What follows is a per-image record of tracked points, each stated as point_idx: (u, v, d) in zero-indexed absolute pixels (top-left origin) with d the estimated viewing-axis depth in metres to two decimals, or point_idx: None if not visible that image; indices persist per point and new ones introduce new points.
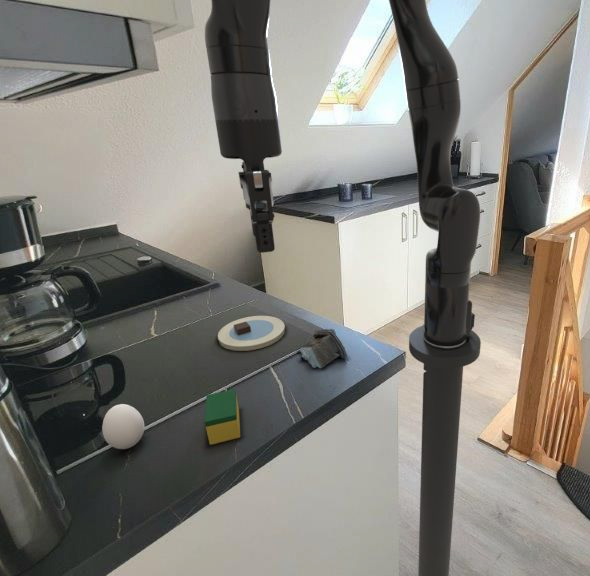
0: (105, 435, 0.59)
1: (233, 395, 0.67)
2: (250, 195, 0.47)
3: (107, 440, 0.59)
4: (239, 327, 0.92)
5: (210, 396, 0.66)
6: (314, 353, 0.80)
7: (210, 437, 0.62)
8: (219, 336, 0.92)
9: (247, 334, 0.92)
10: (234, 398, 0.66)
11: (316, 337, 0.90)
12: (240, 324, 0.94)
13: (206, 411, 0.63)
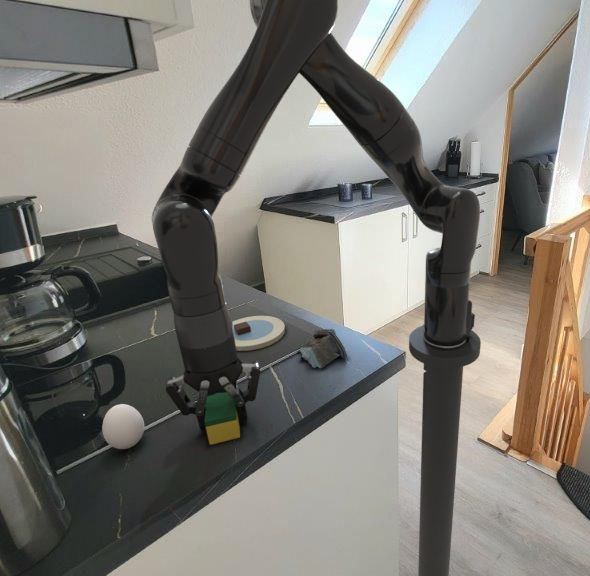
0: (105, 435, 0.59)
1: None
2: None
3: (107, 440, 0.59)
4: (239, 327, 0.92)
5: (210, 396, 0.66)
6: (314, 353, 0.80)
7: (210, 437, 0.62)
8: None
9: (247, 334, 0.92)
10: None
11: (316, 337, 0.90)
12: (240, 324, 0.94)
13: (206, 411, 0.63)
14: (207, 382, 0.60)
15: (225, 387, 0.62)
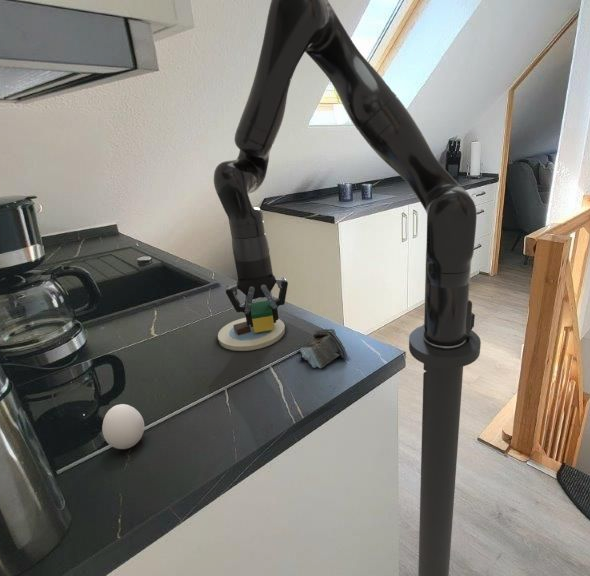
0: (105, 435, 0.59)
1: (268, 303, 0.96)
2: None
3: (107, 440, 0.59)
4: (239, 327, 0.92)
5: (252, 303, 0.95)
6: (314, 353, 0.80)
7: (255, 326, 0.91)
8: (219, 336, 0.92)
9: (247, 334, 0.92)
10: (269, 304, 0.95)
11: (316, 337, 0.90)
12: (240, 324, 0.94)
13: (251, 310, 0.92)
14: (253, 288, 0.89)
15: (264, 292, 0.91)
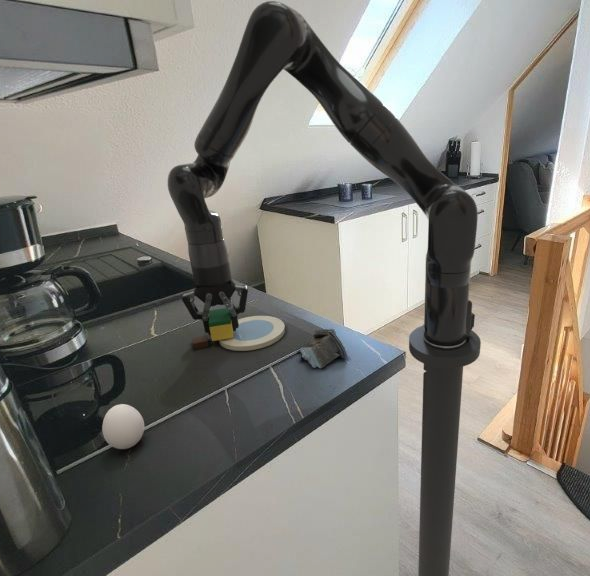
0: (105, 435, 0.59)
1: None
2: None
3: (107, 440, 0.59)
4: None
5: (212, 310, 0.93)
6: (314, 353, 0.80)
7: (212, 335, 0.88)
8: None
9: (247, 334, 0.92)
10: None
11: (316, 337, 0.90)
12: None
13: (209, 318, 0.89)
14: (210, 295, 0.87)
15: (223, 300, 0.88)
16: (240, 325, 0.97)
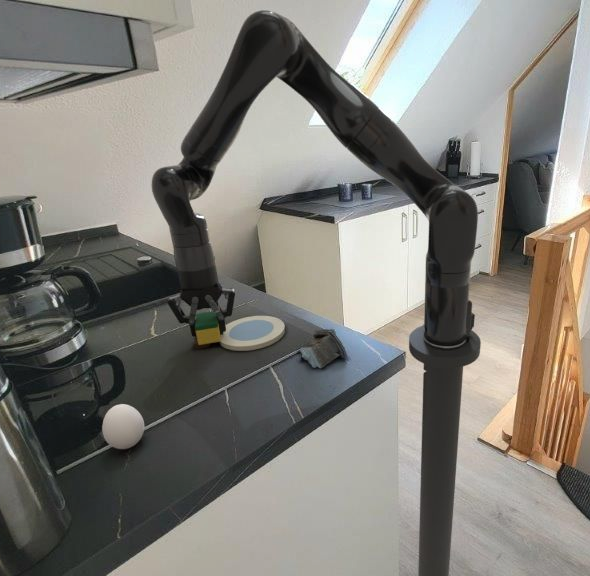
0: (105, 435, 0.59)
1: None
2: None
3: (107, 440, 0.59)
4: None
5: (199, 314, 0.92)
6: (314, 353, 0.80)
7: (199, 339, 0.87)
8: None
9: (247, 334, 0.92)
10: None
11: (316, 337, 0.90)
12: None
13: (196, 321, 0.88)
14: (196, 298, 0.86)
15: (209, 303, 0.87)
16: (240, 325, 0.97)
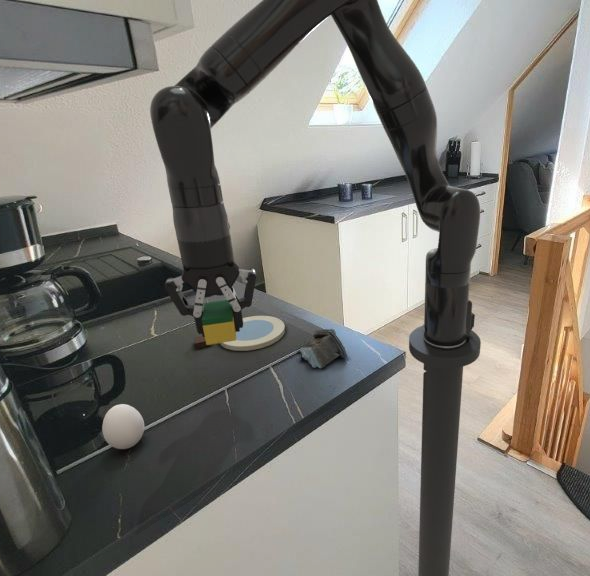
0: (105, 435, 0.59)
1: None
2: None
3: (107, 440, 0.59)
4: None
5: (208, 303, 0.68)
6: (314, 353, 0.80)
7: (207, 336, 0.64)
8: None
9: (247, 334, 0.92)
10: None
11: (316, 337, 0.90)
12: None
13: (203, 313, 0.65)
14: (204, 281, 0.62)
15: (222, 289, 0.64)
16: None
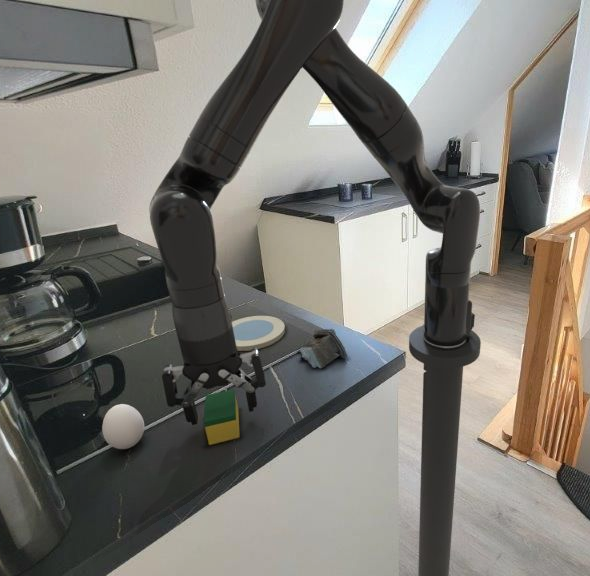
0: (105, 435, 0.59)
1: (232, 395, 0.66)
2: None
3: (107, 440, 0.59)
4: None
5: (209, 396, 0.66)
6: (314, 353, 0.80)
7: (209, 437, 0.62)
8: None
9: (247, 334, 0.92)
10: (233, 398, 0.66)
11: (316, 337, 0.90)
12: None
13: (205, 411, 0.63)
14: (206, 375, 0.60)
15: (228, 379, 0.62)
16: (240, 325, 0.97)
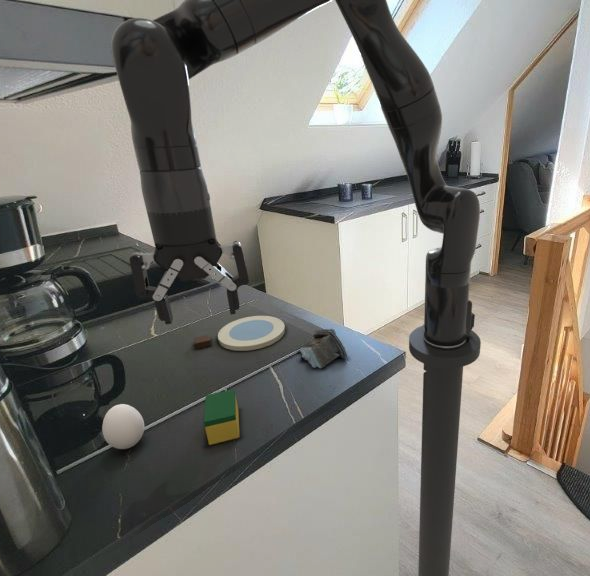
0: (105, 435, 0.59)
1: (232, 395, 0.66)
2: None
3: (107, 440, 0.59)
4: None
5: (209, 396, 0.66)
6: (314, 353, 0.80)
7: (209, 437, 0.62)
8: (219, 336, 0.92)
9: (247, 334, 0.92)
10: (233, 398, 0.66)
11: (316, 337, 0.90)
12: None
13: (205, 411, 0.63)
14: (180, 261, 0.53)
15: (205, 269, 0.55)
16: (240, 325, 0.97)
